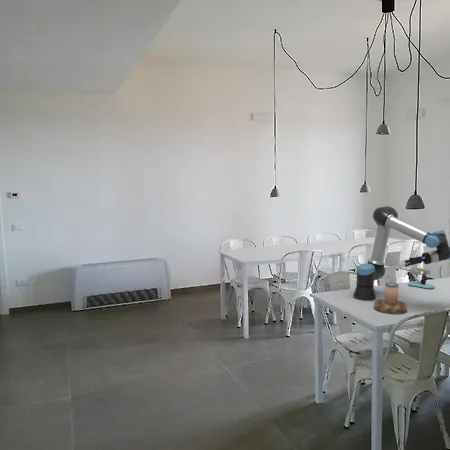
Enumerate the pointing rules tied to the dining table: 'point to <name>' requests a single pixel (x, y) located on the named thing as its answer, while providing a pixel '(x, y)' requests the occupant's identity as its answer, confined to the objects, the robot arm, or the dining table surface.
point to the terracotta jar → (391, 293)
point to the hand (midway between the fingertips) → (397, 265)
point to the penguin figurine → (422, 283)
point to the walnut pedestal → (390, 307)
